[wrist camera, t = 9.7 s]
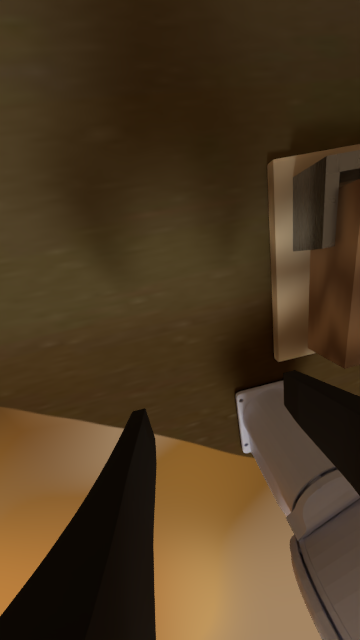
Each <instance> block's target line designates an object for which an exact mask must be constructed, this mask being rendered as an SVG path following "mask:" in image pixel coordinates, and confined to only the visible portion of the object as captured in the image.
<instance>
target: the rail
mask: <svg viewBox="0 0 360 640" xmlns="http://www.w3.org/2000/svg"><path fill="white" fill-rule="evenodd" d="M308 349H310V350H312V351H314V352H315V353H317V354H319V355H321V356H323V357H324V358H326V359H328V360H330V361H332V362H334V363H335V364H337V365H339V366H341V367H343V368H344V369H345V368H349V367H353V366H357V365H360V179H358V180H356V181H353V182H351V183H349V184H346V185H344V186H342V187H339V193H338V207H337V222H336V237H335V246H333V247H328V248H323V249H314V250H310V284H309V318H308Z"/></svg>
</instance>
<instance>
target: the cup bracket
mask: <svg viewBox="0 0 360 640" xmlns="http://www.w3.org/2000/svg"><path fill="white" fill-rule="evenodd" d="M357 179H360V150H356V151H351V152H345V153H340V154H334V155H329V156H326V157H324V158H323V159H321V160H319V161H318V162H316V163H315V164H313V165H312V166H310V167H308V168H307V169H305V170H304V171H302V172H301V173H299V174H297V175H296V176H294V177H293V251H304V250H314V249H323V248H328V247H333V246H335V237H336V222H337V207H338V193H339V183H342V182H347V181H352V180H357Z"/></svg>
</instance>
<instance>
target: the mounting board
mask: <svg viewBox="0 0 360 640" xmlns="http://www.w3.org/2000/svg"><path fill="white" fill-rule="evenodd" d="M356 150H360V144H357V145H351V146H346V147H340V148H335V149H329V150H323V151H318V152H312V153H307V154H301V155H296V156H290V157H285V158H279V159H274V160H272V161H271V162H270V163H269V164H268V165H267V175H268V202H269V229H270V256H271V283H272V310H273V337H274V359H276V360H277V361H278V362H281V361H285V360H289V359H293V358H297V357H301V356H305V355H309V354H313V353H315V352H314V351H312V350H310V349H308V318H309V284H310V250H304V251H293V177H294V176H296V175H297V174H299V173H301V172H302V171H304V170H305V169H307V168H308V167H310V166H312V165H313V164H315V163H316V162H318V161H319V160H321V159H323V158H324V157H326V156H329V155H334V154H340V153H345V152H351V151H356ZM357 180H358V179H357ZM353 181H356V180H352V181H347V182H342V183H339V187H342V186H344V185H346V184H349V183H351V182H353Z"/></svg>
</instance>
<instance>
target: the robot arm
mask: <svg viewBox="0 0 360 640" xmlns="http://www.w3.org/2000/svg"><path fill="white" fill-rule="evenodd" d="M235 397H236V405H237V413H238V421H239V429H240V437H241V445H242V450H243V452H244V453H249V452H252V454H253V456H254V458H255V459H256V462H257V464H258V466H259V468H260V470H261V472H262V474H263V476H264V478H265V480H266V481H267V483H268V485H269V487H270V489H271V491H272V493H273V495H274V497H275V499H276V501H277V503H278V505H279V506H280V508H281V510H282V511H283V512H284V514H285V515H286V516H287V517H286V519H287V521H288V523H289V525H290V527H291V529H292V531H293V533H294V536H292V538H291V539H290V551H291V560H292V566H293V570H294V574H295V577H296V581H297V583H298V586H299V589H300V592H301V594H302V597H303V599H304V601H305V604H306V606H307V609H308V611H309V613H310V615H311V618H312V620H313V622H314V624H315V626H316V628H317V630H318V632H319V634H320V636H321V638H322V640H360V396H357V395H354V394H352V393H349V392H347V391H344V390H342V389H339V388H337V387H335V386H332V385H330V384H327V383H325V382H322V381H320V380H318V379H315V378H313V377H310V376H308V375H305V374H303V373H300V372H298V371H295V370H294V371H290V372H286V373H283V380H282V381H279V382H275V383H271V384H267V385H263V386H259V387H255V388H251V389H247V390H244V391H240V392H237V393H236V396H235ZM240 399H241V400H240ZM155 485H156V445H155V437H154V434H153V431H152V428H151V425H150V421H149V418H148V415H147V412H146V409H141V410H137V411H133V412H132V414H131V416H130V418H129V420H128V422H127V424H126V426H125V428H124V430H123V432H122V434H121V436H120V438H119V440H118V442H117V444H116V446H115V448H114V450H113V452H112V454H111V455H110V457H109V459H108V461H107V463H106V464H105V466H104V468H103V470H102V472H101V473H100V475H99V477H98V478H97V480H96V482H95V483H94V485H93V487H92V488H91V490H90V492H89V493H88V495H87V497H86V498H85V500H84V502H83V503H82V504H81V506H80V507H79V509H78V511H77V512H76V514H75V515H74V517H73V518H72V520H71V521H70V523H69V524H68V526H67V527H66V529H65V530H64V531H63V533H62V534H61V536H60V537H59V539H58V540H57V541H56V543H55V544H54V546H53V547H52V549H51V550H50V551H49V553H48V554H47V556H46V557H45V558H44V560H43V561H42V562H41V564H40V565H39V567H38V568H37V569H36V571H35V572H34V573H33V575H32V576H31V577H30V578H29V580H28V581H27V582H26V584H25V585H24V586H23V588H22V589H21V590H20V592H19V593H18V594H17V595H16V597H15V598H14V599H13V601H12V602H11V603H10V605H9V606H8V607H7V609H6V610H5V611H4V612H3V614H2V615H1V616H0V640H156V632H155V598H154V557H153V529H154V507H155Z"/></svg>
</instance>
